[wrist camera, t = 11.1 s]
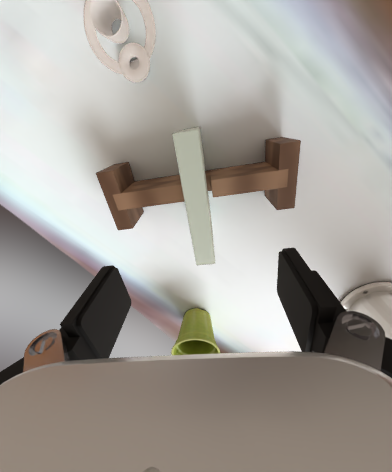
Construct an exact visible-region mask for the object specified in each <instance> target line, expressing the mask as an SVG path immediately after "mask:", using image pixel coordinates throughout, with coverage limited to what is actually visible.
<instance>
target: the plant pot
mask: <svg viewBox="0 0 392 472" xmlns="http://www.w3.org/2000/svg"><path fill="white" fill-rule="evenodd" d="M219 353H220V350H219V348H218V346H217V344H216V342H215V339H214V334H213V329H212V324H211V318H210V315H209V313H208V312H207V311H203V310H201V309H199V308H194V309H190V310H188V311H187V312H186V313H185V315H184V317H183V321H182V325H181V329H180V333H179V336H178V339H177V341H176V343H175V345H174V346H173V348H172V352H171V354H172V355H193V354H219Z"/></svg>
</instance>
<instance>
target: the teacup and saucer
mask: <svg viewBox="0 0 392 472" xmlns="http://www.w3.org/2000/svg"><path fill="white" fill-rule="evenodd" d="M133 1H134V2H135V4H136V5H137V6H138V8H139V9H140V11H141V13H142V16H143V18H144V22H145V27H146V41H145V46H144V48H143V47H142V46H141V45H140V44H137V43H128V44H126V45H125V46H124V47H123V48H122V49H121V51H120V54H119V62H117V61H115V60H113V59H112V58H111V57H109V56H108V55H107V54H106V52H105V51H104V50H103V48H102V47H101V45H100V43H99V41H98V38H97V35H96V30H95V28H96V29H97V31H98V32H99V33H100V34H102V35H103V36H105V37H106V38H107V39H109V40H111V41H112V42H114V43H118V44H121V43H124V42H125V41H126V40H127V39H128V37H129V25H128V21H127V18H126V16H125V14H124V12H123V10H122V8H121V7H120V5H119V3H118V2H117V0H86V3H85V8H84V25H85V31H86V35H87V38H88V41H89V44H90V46H91V48H92V50H93V52H94V53H95V55H96V56H97V58H98V59H99V60H100V61H101V63H102V64H104V65H105V66H106V67H107V68H108V69H110V70H112V71H113V72H116V73H119V74H123V75H124V77H125V78H126V79H128V80H129V81H131V82H135V83H138V82H141V81H143V80H144V79H145V78H146V77H147V76H148V73H149V70H150V58H151V56H152V53H153V50H154V46H155V37H156V31H155V22H154V17H153V14H152V11H151V8H150V6H149V4H148V2H147V0H133ZM116 19H120V20H121V25H120V28H119V30H118V31H117V32H116V33H115V34H113V32H112V24H113V22H114V20H116ZM133 57H137V59H136V60H134V61H132V62H130V60H131V58H133Z"/></svg>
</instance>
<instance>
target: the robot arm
mask: <svg viewBox="0 0 392 472" xmlns="http://www.w3.org/2000/svg"><path fill="white" fill-rule="evenodd" d="M277 293H278V296H279V298H280V301H281V303H282V305H283V308H284V310H285V312H286V315H287V317H288V320H289V322H290V324H291V327H292V329H293V331H294V334H295V336H296V339H297V341H298V343H299V346H300V348H301V350H302V352H294V351H289V352H246V353H219V354H193V355H170V356H147V357H125V358H109V356H110V354H111V351H112V349H113V347H114V344H115V342H116V339H117V337H118V334H119V332H120V330H121V328H122V325H123V323H124V321H125V318H126V316H127V313H128V311H129V309H130V306H131V299H130V296H129V294H128V292H127V289H126V287H125V285H124V282H123V280H122V278H121V275H120V273H119V271H118V269H117V268H115V267H114V266H104V267H102V268H101V270H100V271H99V272H98V274H97V275H96V276H95V278H94V279H93V280H92V282H91V283H90V284H89V286H88V287H87V288H86V290H85V291H84V293H83V294H82V295H81V297H80V298H79V299H78V301H77V302H76V303H75V305H74V306H73V308H72V309H71V310H70V312H69V313H68V314H67V316H66V317H65V318H64V320H63V321H62V322H61V324H60V325H61V329H60V330H57V329H52V330H48V331H46V332H43V333H42V334H40V335H39V336H37V337H36V338H35V339H33V340H32V341H31V343H30V344H29V345H28V347H27V348H26V350H25V353H24V357H23V358H22V359H20V360H19V361H17V362H16V363H14V364H12V365H11V366H9V367H7V368H6V369H4V370H3V371H1V372H0V472H392V283H390V282H376V283H371V284H367V285H364V286H361V287H359V288H357V289H355V290H354V291H352V292H350V293H349V294H348V295H347V296H346V297H345V298H344V299H343V300H342V302H341V303H340V302H339V300H338V299H337V298H336V296H335V295H334V294H333V292H332V291H331V290H330V288H329V287H328V286H327V284H326V283H325V282H324V280H323V279H322V278H321V277H320V275H319V274H318V273H317V272H316V271H311V270H310V268H309V267H308V266H307V264H306V263H305V261H304V260H303V259H302V257H301V256H300V254H299V253H298V252H297V250H296V249H295V248H285V249H283V250H282V252H279V260H278V279H277Z"/></svg>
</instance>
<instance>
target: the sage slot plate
mask: <svg viewBox="0 0 392 472" xmlns="http://www.w3.org/2000/svg"><path fill="white" fill-rule="evenodd" d="M172 136H173V141H174V146H175V152H176V157H177V163H178V168H179V173H180V179H181V184H182V189H183V195H184V200H185V206H186V211H187V216H188V222H189V227H190V233H191V238H192V243H193V249H194V254H195V259H196V265H206V264H215V255H214V244H213V232H212V221H211V212H210V204H209V196H208V191H207V183H206V174H205V163H204V155H203V147H202V139H201V131H200V127H195V128H190V129H184V130H181V131H179V132H176V133H173V134H172Z"/></svg>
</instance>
